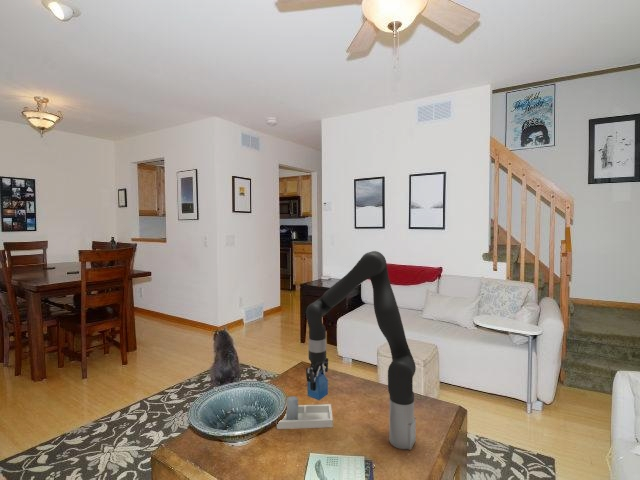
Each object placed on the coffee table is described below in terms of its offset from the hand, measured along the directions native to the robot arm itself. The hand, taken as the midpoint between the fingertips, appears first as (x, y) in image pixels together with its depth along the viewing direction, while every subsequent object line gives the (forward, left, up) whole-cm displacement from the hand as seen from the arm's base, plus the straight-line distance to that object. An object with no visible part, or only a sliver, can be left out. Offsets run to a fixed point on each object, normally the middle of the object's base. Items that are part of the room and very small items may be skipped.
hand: (317, 386), depth 145 cm
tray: (+5, +3, -15) cm, 16 cm away
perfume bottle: (0, 0, -4) cm, 4 cm away
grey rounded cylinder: (+9, +6, -14) cm, 18 cm away
